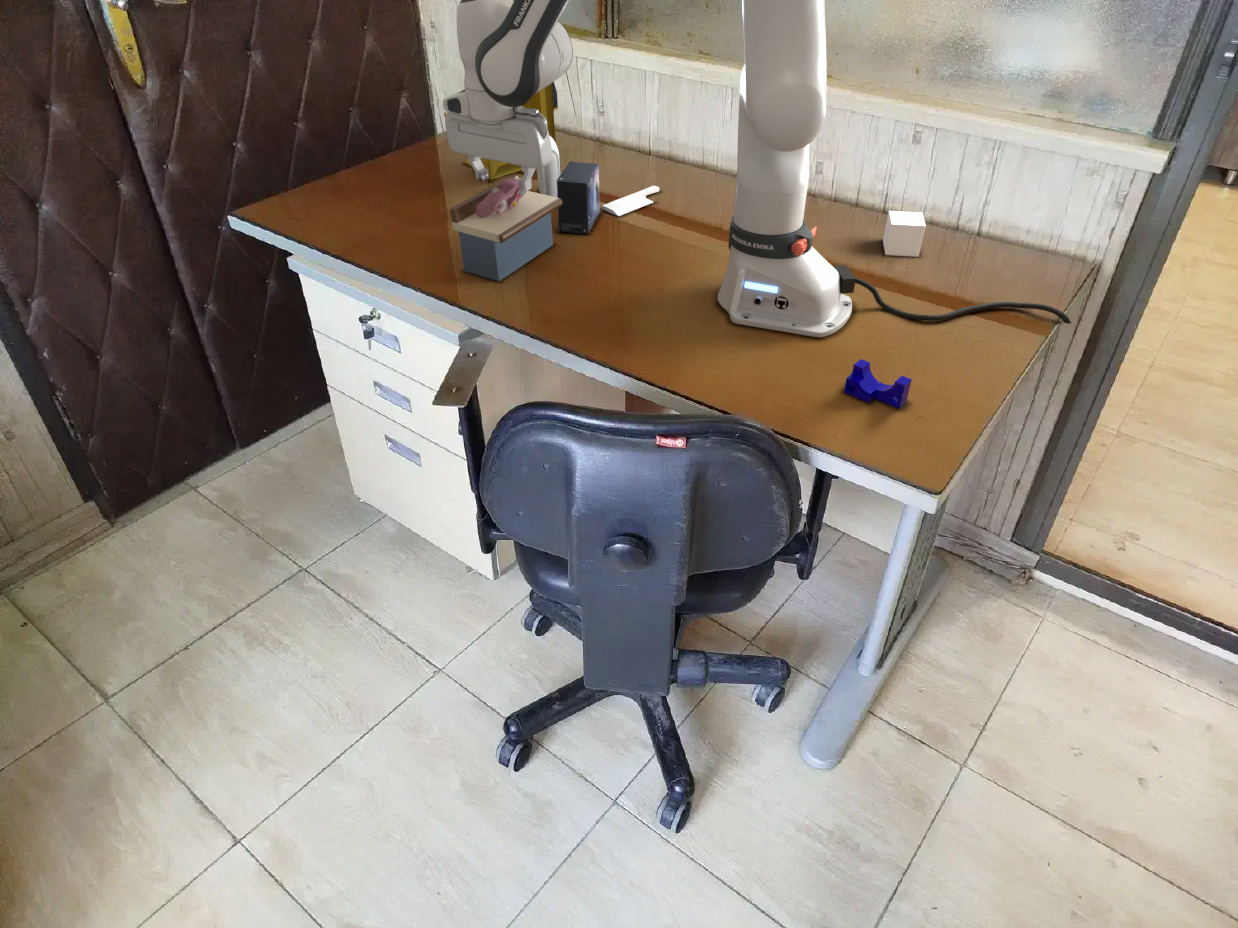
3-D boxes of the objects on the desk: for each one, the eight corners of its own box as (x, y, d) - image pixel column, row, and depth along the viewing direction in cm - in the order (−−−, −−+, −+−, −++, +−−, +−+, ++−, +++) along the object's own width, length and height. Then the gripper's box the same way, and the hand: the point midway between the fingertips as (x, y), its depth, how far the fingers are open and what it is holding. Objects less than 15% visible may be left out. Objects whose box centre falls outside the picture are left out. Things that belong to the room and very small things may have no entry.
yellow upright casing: (549, 139, 204) (540, 2, 185) (584, 154, 196) (578, 13, 176) (438, 171, 189) (415, 26, 170) (471, 189, 181) (450, 39, 161)
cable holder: (843, 392, 120) (848, 369, 118) (856, 381, 122) (860, 358, 120) (894, 413, 116) (899, 390, 114) (905, 402, 118) (911, 379, 116)
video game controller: (491, 229, 146) (501, 199, 140) (472, 213, 146) (481, 182, 141) (525, 209, 152) (536, 179, 147) (506, 194, 153) (517, 164, 147)
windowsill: (565, 246, 158) (561, 186, 151) (508, 286, 147) (501, 222, 139) (518, 234, 163) (512, 174, 155) (459, 271, 151) (449, 209, 143)
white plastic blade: (670, 196, 176) (670, 191, 175) (618, 217, 168) (618, 212, 168) (653, 189, 179) (653, 184, 178) (601, 209, 171) (601, 204, 170)
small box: (590, 235, 162) (588, 182, 155) (557, 232, 163) (554, 180, 156) (601, 213, 170) (600, 162, 163) (571, 211, 171) (568, 160, 164)
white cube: (915, 242, 157) (922, 212, 153) (918, 257, 153) (926, 226, 149) (882, 240, 158) (888, 210, 154) (885, 255, 154) (891, 224, 150)
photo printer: (536, 188, 180) (531, 130, 172) (556, 186, 181) (552, 128, 173) (543, 207, 173) (539, 147, 165) (564, 205, 173) (560, 145, 165)
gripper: (556, 105, 134) (562, 188, 143) (459, 89, 143) (470, 169, 151) (533, 116, 130) (541, 201, 139) (434, 99, 138) (448, 180, 147)
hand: (504, 184), depth 145 cm, fingers open, 8 cm apart
